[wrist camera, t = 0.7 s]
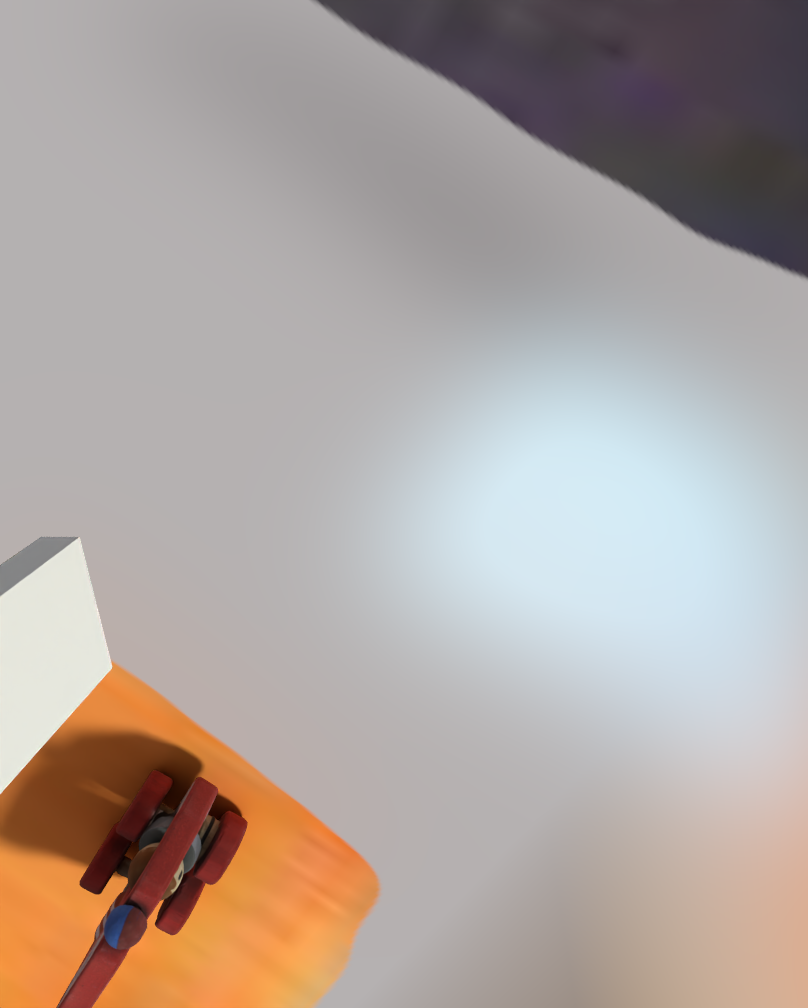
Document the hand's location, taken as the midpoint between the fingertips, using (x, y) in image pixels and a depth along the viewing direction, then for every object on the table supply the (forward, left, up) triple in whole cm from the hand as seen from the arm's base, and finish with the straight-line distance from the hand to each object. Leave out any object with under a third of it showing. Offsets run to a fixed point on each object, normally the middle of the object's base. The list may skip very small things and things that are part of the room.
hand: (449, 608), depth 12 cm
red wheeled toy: (+22, -26, -26) cm, 43 cm away
